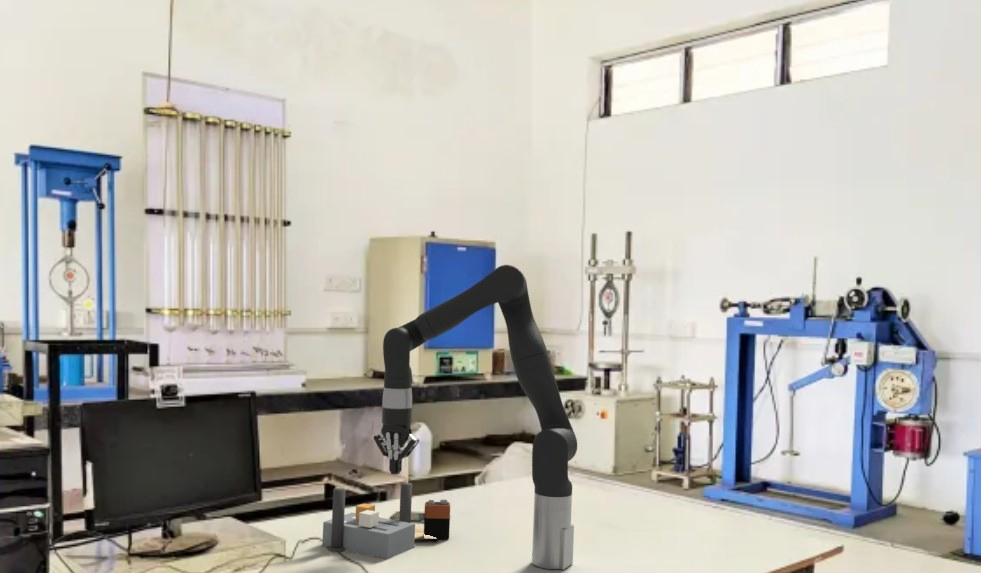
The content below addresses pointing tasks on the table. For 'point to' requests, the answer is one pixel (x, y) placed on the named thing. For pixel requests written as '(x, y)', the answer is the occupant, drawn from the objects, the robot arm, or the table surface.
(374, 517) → the white ridged block
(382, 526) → the box
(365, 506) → the toggle orange
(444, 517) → the battery
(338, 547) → the post
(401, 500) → the post
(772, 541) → the table surface
